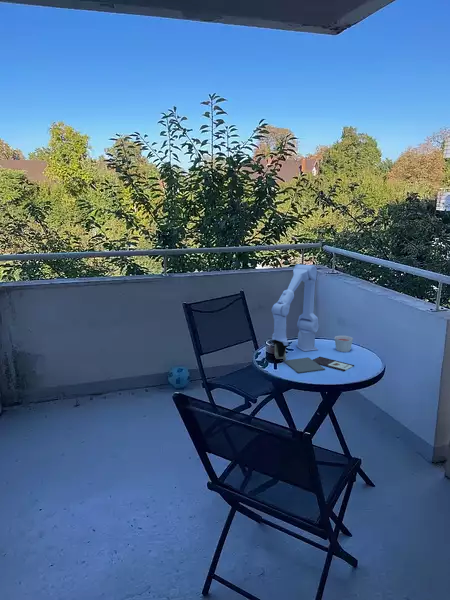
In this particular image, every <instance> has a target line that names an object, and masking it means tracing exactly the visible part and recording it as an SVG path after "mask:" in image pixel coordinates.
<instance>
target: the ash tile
mask: <svg viewBox="0 0 450 600" xmlns="http://www.w3.org/2000/svg"><path fill="white" fill-rule="evenodd" d="M273 346H274V348H273V349H274V352H273V353H274V355H273V356H275V358H276V359H283V360H282V361H284V360H287V357H286V356H287V355H286V353H287V352H286V351H287V350H286V349H287V348H286V349H285V353H284V356H283V357H279V355H278V348H277V345H276V344H273Z"/></svg>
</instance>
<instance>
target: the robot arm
mask: <svg viewBox="0 0 450 600" xmlns="http://www.w3.org/2000/svg"><path fill="white" fill-rule="evenodd" d="M292 274H293V276H292V277H291V280H290V282H289V284H288V287H287V289H285V290H283V291H282V294H281V295H280V297H279V299H278V300H277V302H275V303H274V304H273V305H272V307H271V310H270V311H271V313H272V318H273V329H274V330H273V333H272V334H271V335H272V336H271V341H272V344H273V345H274V344H276V345H277V348H278V355H279V357H283V356H284V353H285V349H287V347H288V346H289V340H288V338H287V316H288V315H289V313H290V308H291V303H292V302H293V300H294V298H295V294H294V293H295V292H296V290H297V289H298V287H299V286H300V285H301V282H303V283H304V287H303V288H304V289H303V304H302V306H303V307H302V313H301V314H300V315H299V316H298V320H297V323H296V326H297V329H298V330H299V331H298V333H297V344H296V345H295V346H296V348H298V349H300V350H301V351H302V352H309V351H311V352H312V351H318V350H319V349H318V348H317V347H316V346H315V345H316V344H315V343H316V342H315V341H316V333H317V331H318V330H319V329H320V328H319V327H320V324H319V318H318V316H317V315H316V314H315V313H314V312H315V293H316V281H317V278H318V269H317V267H316V266H315V265H313V264H312V265H311V264H300V263H296V264H295V265H294V268H293V270H292Z"/></svg>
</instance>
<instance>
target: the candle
mask: <svg viewBox="0 0 450 600" xmlns="http://www.w3.org/2000/svg"><path fill="white" fill-rule="evenodd" d="M353 340H354V338H353V337H352V336H350V335H336V336H334V344H335V349H336V351H338V352H342V353H348V352H350V351H351V349H352V345H353Z"/></svg>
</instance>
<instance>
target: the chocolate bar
mask: <svg viewBox="0 0 450 600" xmlns="http://www.w3.org/2000/svg"><path fill="white" fill-rule="evenodd" d="M312 360H313V361H314V362H316V363H317V364H319V365H320V366H322V367H325V368H329V369H334V370H337V371H341V372H346V371H348V370H350V369H352V368H353V367H355V364H352V363H351V364H350V363H348V362H344V361H343V362H342V361H339V360H336V359H331V358H328V357H323V356H318V357H315V358H313V359H312Z"/></svg>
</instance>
